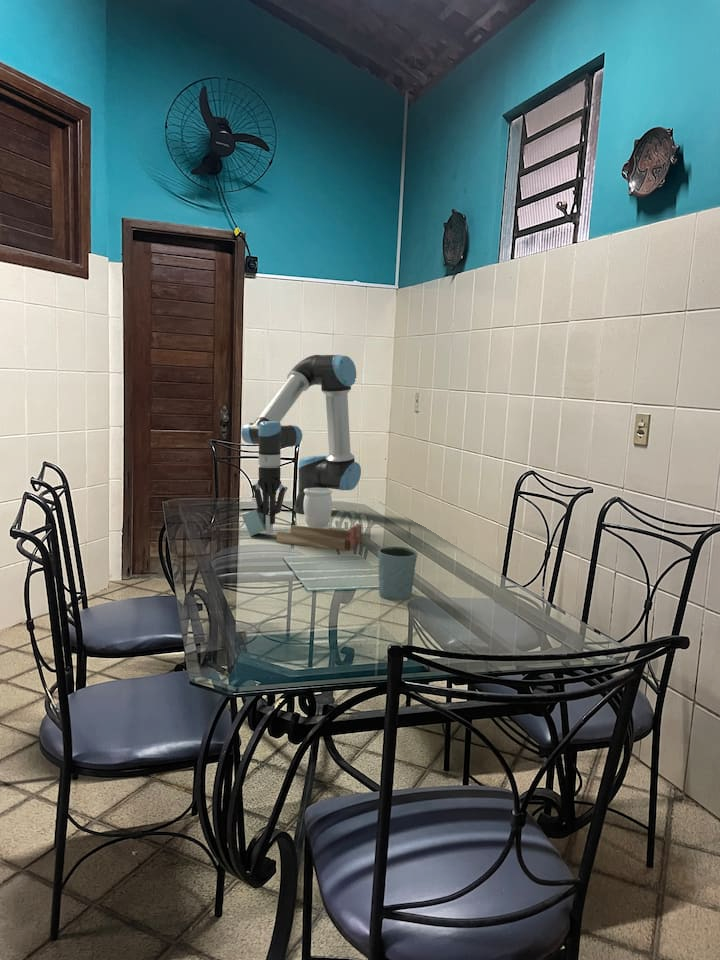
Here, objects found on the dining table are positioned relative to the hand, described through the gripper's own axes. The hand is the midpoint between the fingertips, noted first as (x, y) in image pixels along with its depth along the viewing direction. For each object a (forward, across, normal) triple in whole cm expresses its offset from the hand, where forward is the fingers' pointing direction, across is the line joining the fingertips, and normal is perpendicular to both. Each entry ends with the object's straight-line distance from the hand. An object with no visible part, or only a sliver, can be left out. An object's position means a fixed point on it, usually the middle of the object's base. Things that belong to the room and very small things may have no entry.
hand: (269, 532), depth 242 cm
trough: (+1, +19, 0) cm, 19 cm away
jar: (+2, +11, +18) cm, 21 cm away
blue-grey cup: (+2, +59, -45) cm, 74 cm away
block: (0, -3, +1) cm, 3 cm away
